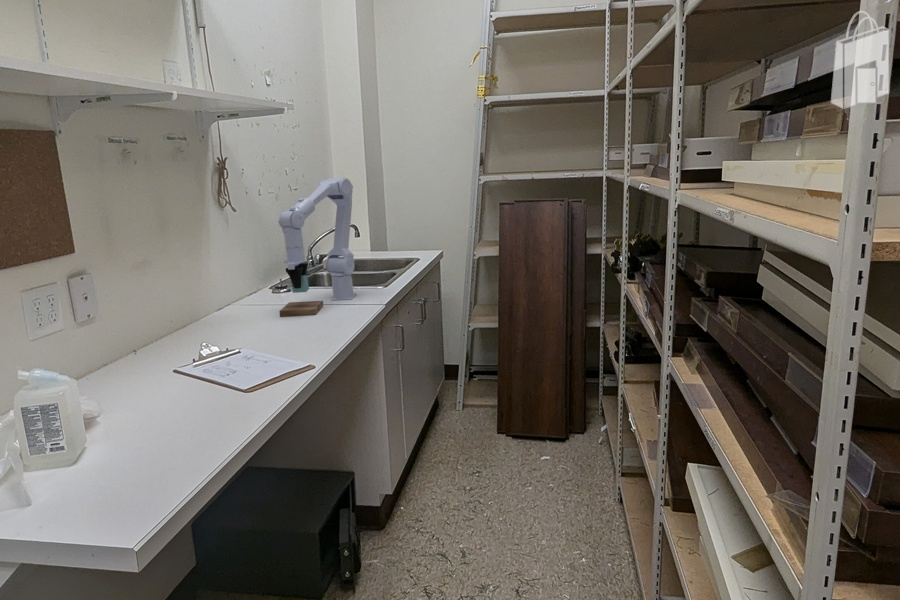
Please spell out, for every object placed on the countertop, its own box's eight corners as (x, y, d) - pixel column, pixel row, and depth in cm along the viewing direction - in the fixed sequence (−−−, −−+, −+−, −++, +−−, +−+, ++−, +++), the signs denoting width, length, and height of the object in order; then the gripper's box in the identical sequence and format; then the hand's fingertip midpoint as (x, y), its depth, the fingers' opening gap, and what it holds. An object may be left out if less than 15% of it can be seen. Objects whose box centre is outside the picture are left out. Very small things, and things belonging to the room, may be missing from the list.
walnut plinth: (289, 307, 204) (289, 302, 203) (323, 306, 204) (322, 300, 203) (280, 316, 192) (279, 311, 192) (315, 314, 192) (315, 309, 192)
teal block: (296, 289, 199) (294, 275, 197) (308, 289, 198) (307, 275, 197) (292, 292, 194) (290, 278, 193) (305, 292, 194) (304, 277, 193)
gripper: (288, 244, 200) (293, 282, 203) (276, 251, 186) (281, 291, 189) (308, 243, 200) (313, 281, 203) (298, 249, 186) (303, 290, 189)
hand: (299, 286), depth 196 cm, fingers closed on teal block, 4 cm apart
